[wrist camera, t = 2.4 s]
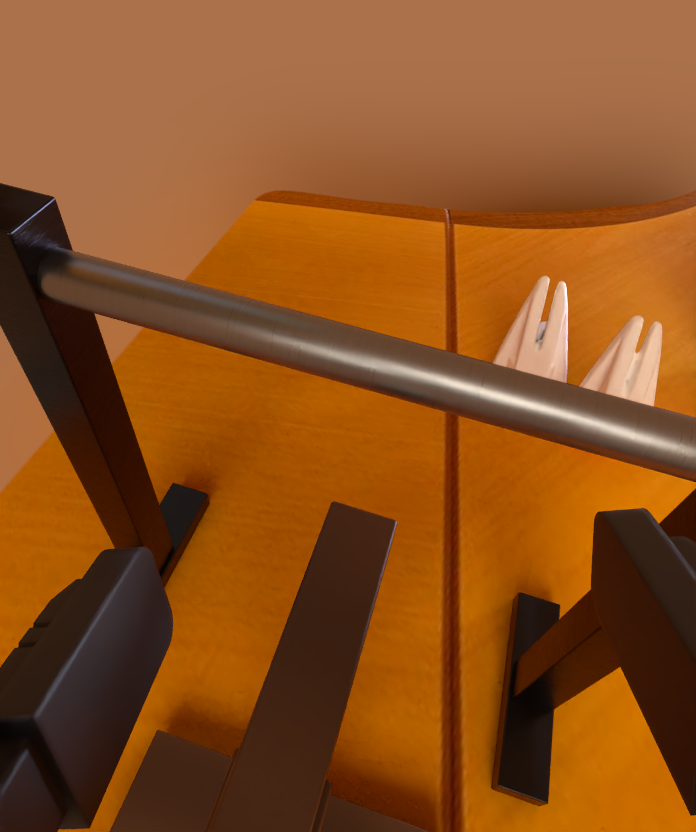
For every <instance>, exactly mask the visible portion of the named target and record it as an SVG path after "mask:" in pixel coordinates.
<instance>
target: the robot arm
mask: <svg viewBox="0 0 696 832" xmlns="http://www.w3.org/2000/svg"><path fill="white" fill-rule="evenodd" d="M591 591H592V598H593V604H594V608H595V611H596V615H597V617H598V620H599V622H600V624H601V627H602V629H603V631H604V633H605V635H606V637H607V639H608V641H609V644H610V646H611V648H612V650H613V652H614V654H615V656H616V658H617V660H618V663H619V665H620V667H621V669H622V671H623V673H624V675H625V677H626V680H627V682H628V684H629V686H630V688H631V690H632V692H633V694H634V696H635V699H636V701H637V703H638V705H639V707H640V709H641V711H642V713H643V716H644V718H645V720H646V722H647V724H648V726H649V728H650V730H651V732H652V735H653V737H654V739H655V741H656V743H657V745H658V747H659V749H660V752H661V754H662V756H663V758H664V760H665V762H666V764H667V766H668V768H669V771H670V773H671V775H672V777H673V779H674V781H675V783H676V785H677V788H678V790H679V792H680V794H681V796H682V798H683V800H684V802H685V804H686V807H687V809H688V811H689V813H690V815H696V543H695V542H693V541H692V540H690V539H689V538H687V537H686V536H675V537H668V536H667V534H666V533H665V532H664V530H663V529H662V528H661V526H660V525H659V524H658V523H657V521H656V520H655V519H654V517H653V516H652V515H651V513H650V512H649V511H648V510H646V509H644V508H641V509H628V510H615V511H603V512H598V513H597V514H596V516H595V519H594V532H593V553H592V573H591ZM33 625H34V626H33V628H29V630H28V631H27V632H26V634H25V635H24V636H23V638H22V639H21V640H20V642H19V647H18V648H14V650H13V651H12V652H11V654H10V655H9V656H8V658H7V659H6V660H5V662H4V663H3V664H2V666H1V667H0V832H57V831H58V829H83V828H90V826H91V824H92V821H93V819H94V817H95V815H96V812H97V810H98V808H99V805H100V803H101V801H102V798H103V796H104V794H105V792H106V789H107V787H108V785H109V782H110V780H111V778H112V776H113V773H114V771H115V769H116V766H117V764H118V762H119V760H120V757H121V755H122V753H123V750H124V748H125V746H126V743H127V741H128V739H129V737H130V734H131V732H132V730H133V727H134V725H135V723H136V721H137V718H138V716H139V714H140V711H141V709H142V707H143V704H144V702H145V700H146V698H147V695H148V693H149V691H150V688H151V686H152V684H153V682H154V679H155V677H156V675H157V672H158V670H159V668H160V666H161V663H162V661H163V659H164V656H165V654H166V652H167V649H168V647H169V645H170V641H171V637H172V631H173V617H172V611H171V607H170V604H169V601H168V598H167V595H166V592H165V589H164V586H163V583H162V580H161V577H160V574H159V571H158V568H157V565H156V562H155V559H154V556H153V554H152V552H151V551H150V549H149V548H147V547H133V548H120V549H108V550H104V551H103V552H101V553H100V554H99V556H98V557H97V558H96V560H95V561H94V563H93V564H92V565H91V567H90V568H89V570H88V571H87V572H86V574H85V575H84V577H83V578H82V579H76V580H75V581H74V582H73V583H71V584H70V585H69V586H68V587H66V588H65V589H64V590H63V591H61V592H60V593H59V594H58V595H56V596H55V597H54V598H53V599H52V600H50V602H49V603H48V604H47V606H46V607H45V608H44V610H43V611H42V612H41V614H40V615H39V616H38V618H37V619H36V620H35V622H34V623H33Z"/></svg>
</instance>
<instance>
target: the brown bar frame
mask: <svg viewBox="0 0 696 832" xmlns="http://www.w3.org/2000/svg"><path fill="white" fill-rule="evenodd" d="M396 526H397V521H395V520H393V519H390V518H386V517H383V516H380V515H377V514H374V513H370V512H367V511H364V510H361V509H357V508H354V507H351V506H348V505H344V504H341V503H338V502H332V503H331V505H330V508H329V510H328V513H327V516H326V518H325V521H324V524H323V526H322V529H321V532H320V534H319V537H318V540H317V542H316V545H315V548H314V550H313V553H312V556H311V558H310V561H309V564H308V566H307V569H306V572H305V574H304V577H303V580H302V582H301V585H300V588H299V590H298V593H297V596H296V598H295V601H294V604H293V606H292V609H291V612H290V614H289V617H288V620H287V622H286V625H285V628H284V630H283V633H282V636H281V638H280V641H279V644H278V646H277V649H276V652H275V654H274V657H273V660H272V662H271V665H270V668H269V670H268V673H267V676H266V678H265V681H264V684H263V686H262V689H261V692H260V694H259V697H258V700H257V702H256V705H255V708H254V710H253V713H252V716H251V718H250V721H249V724H248V726H247V729H246V732H245V734H244V737H243V740H242V742H241V745H240V748H237V749H236V750H235V752H234V755H233V757H229V756H227V755H224V754H221V753H219V752H216V751H213V750H211V749H208V748H205V747H203V746H200V745H197V744H195V743H192V742H189V741H187V740H184V739H181V738H179V737H176V736H173V735H171V734H168V733H165V732H163V731H160V730H157V732H156V734H155V736H154V738H153V740H152V742H151V745H150V747H149V749H148V751H147V753H146V755H145V757H144V760H143V762H142V764H141V766H140V768H139V770H138V772H137V775H136V777H135V779H134V781H133V783H132V785H131V787H130V790H129V792H128V794H127V796H126V798H125V800H124V802H123V805H122V807H121V809H120V811H119V813H118V815H117V817H116V820H115V822H114V824H113V826H112V828H111V830H110V832H429V831H427V830H424V829H421V828H419V827H416V826H413V825H411V824H408V823H405V822H403V821H400V820H397V819H395V818H392V817H389V816H387V815H384V814H381V813H379V812H376V811H373V810H371V809H368V808H365V807H363V806H360V805H357V804H355V803H352V802H349V801H347V800H344V799H341V798H339V797H336V796H333V795H331V794H330V793H331V790H332V783H331V782H330V781H328V780H326V777H327V774H328V770H329V766H330V763H331V759H332V756H333V752H334V748H335V745H336V741H337V738H338V734H339V730H340V727H341V723H342V720H343V716H344V713H345V709H346V705H347V702H348V698H349V695H350V691H351V687H352V684H353V680H354V677H355V673H356V670H357V666H358V662H359V659H360V655H361V652H362V648H363V644H364V641H365V637H366V634H367V630H368V627H369V623H370V619H371V616H372V612H373V609H374V605H375V601H376V598H377V594H378V591H379V587H380V583H381V580H382V576H383V573H384V569H385V566H386V562H387V558H388V555H389V551H390V548H391V544H392V540H393V537H394V533H395V530H396Z"/></svg>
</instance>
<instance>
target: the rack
mask: <svg viewBox="0 0 696 832" xmlns="http://www.w3.org/2000/svg"><path fill="white" fill-rule="evenodd" d="M94 313H96V314H99V315H103V316H106V317H110V318H113V319H117V320H121V321H124V322H128V323H131V324H135V325H138V326H142V327H145V328H149V329H153V330H156V331H160V332H163V333H167V334H170V335H174V336H177V337H181V338H185V339H188V340H192V341H195V342H199V343H202V344H206V345H209V346H213V347H217V348H220V349H224V350H227V351H231V352H234V353H238V354H241V355H245V356H249V357H252V358H256V359H259V360H263V361H266V362H270V363H274V364H277V365H281V366H284V367H288V368H291V369H295V370H298V371H302V372H306V373H309V374H313V375H316V376H320V377H323V378H327V379H330V380H334V381H338V382H341V383H345V384H348V385H352V386H355V387H359V388H362V389H366V390H370V391H373V392H377V393H380V394H384V395H387V396H391V397H394V398H398V399H402V400H405V401H409V402H412V403H416V404H419V405H423V406H426V407H430V408H434V409H437V410H441V411H444V412H448V413H451V414H455V415H458V416H462V417H466V418H469V419H473V420H476V421H480V422H483V423H487V424H491V425H494V426H498V427H501V428H505V429H508V430H512V431H515V432H519V433H523V434H526V435H530V436H533V437H537V438H540V439H544V440H547V441H551V442H555V443H558V444H562V445H565V446H569V447H572V448H576V449H579V450H583V451H587V452H590V453H594V454H597V455H601V456H604V457H608V458H611V459H615V460H619V461H622V462H626V463H629V464H633V465H636V466H640V467H643V468H647V469H651V470H654V471H658V472H661V473H665V474H668V475H672V476H676V477H679V478H683V479H686V480H690V481H693V482H696V418H695V417H691V416H688V415H684V414H680V413H676V412H673V411H669V410H665V409H661V408H658V407H654V406H650V405H647V404H643V403H639V402H635V401H632V400H628V399H624V398H620V397H617V396H613V395H609V394H605V393H602V392H598V391H594V390H590V389H587V388H583V387H579V386H576V385H572V384H568V383H564V382H561V381H557V380H553V379H549V378H546V377H542V376H538V375H534V374H531V373H527V372H523V371H519V370H516V369H512V368H508V367H505V366H501V365H497V364H493V363H490V362H486V361H482V360H478V359H475V358H471V357H467V356H463V355H460V354H456V353H452V352H448V351H445V350H441V349H437V348H434V347H430V346H426V345H422V344H419V343H415V342H411V341H407V340H404V339H400V338H396V337H392V336H389V335H385V334H381V333H377V332H374V331H370V330H366V329H363V328H359V327H355V326H351V325H348V324H344V323H340V322H336V321H333V320H329V319H325V318H321V317H318V316H314V315H310V314H306V313H303V312H299V311H295V310H292V309H288V308H284V307H280V306H277V305H273V304H269V303H265V302H262V301H258V300H254V299H250V298H247V297H243V296H239V295H235V294H232V293H228V292H224V291H221V290H217V289H213V288H209V287H206V286H202V285H198V284H194V283H191V282H187V281H183V280H179V279H175V278H172V277H168V276H164V275H161V274H157V273H153V272H150V271H146V270H141V269H138V268H135V267H131V266H127V265H123V264H119V263H116V262H112V261H108V260H105V259H101V258H97V257H93V256H90V255H86V254H82V253H78V252H75V251H73V250H72V247H71V244H70V241H69V238H68V235H67V232H66V229H65V226H64V223H63V220H62V217H61V214H60V211H59V209H58V205H57V203H56V200H55V198H54V197H52V196H49V195H44V194H40V193H37V192H33V191H29V190H25V189H21V188H17V187H13V186H9V185H5V184H1V183H0V326H1V327H2V329H3V331H4V333H5V335H6V337H7V339H8V341H9V343H10V345H11V347H12V349H13V351H14V353H15V355H16V356H17V359H18V360H19V362H20V364H21V366H22V368H23V370H24V372H25V374H26V376H27V378H28V380H29V382H30V384H31V385H32V388H33V390H34V392H35V394H36V395H37V397H38V399H39V401H40V403H41V405H42V407H43V409H44V411H45V413H46V415H47V417H48V419H49V421H50V423H51V425H52V427H53V428H54V430H55V432H56V434H57V436H58V438H59V440H60V442H61V444H62V446H63V448H64V450H65V452H66V454H67V456H68V458H69V460H70V461H71V463H72V465H73V467H74V469H75V471H76V473H77V475H78V477H79V479H80V481H81V483H82V485H83V487H84V489H85V491H86V493H87V494H88V496H89V498H90V500H91V502H92V504H93V506H94V508H95V510H96V512H97V514H98V516H99V518H100V520H101V522H102V524H103V526H104V527H105V529H106V531H107V533H108V535H109V537H110V539H111V541H112V543H113V545H114V547H115V549H120V548H133V547H147V548H149V549H150V551H151V552H152V554H153V556H154V559H155V562H156V565H157V568H158V571H159V574H160V577H161V580H162V583H163V586H164V587H165V585H166V583H167V581H168V580H169V578H170V576H171V574H172V572H173V570H174V568H175V567H176V565H177V563H178V561H179V559H180V557H181V555H182V554H183V552H184V550H185V548H186V546H187V544H188V542H189V541H190V539H191V537H192V535H193V533H194V531H195V529H196V527H197V526H198V524H199V522H200V520H201V518H202V516H203V514H204V513H205V511H206V509H207V507H208V505H209V498H208V494H207V493H204V492H201V491H197V490H194V489H191V488H188V487H185V486H182V485H178V484H175V483H173V484H172V485H171V487H170V489H169V490H168V492H167V494H166V495H165V497H164V499H163V500H162V502H161V504H160V505H159V503H158V500H157V497H156V494H155V491H154V488H153V485H152V482H151V479H150V477H149V474H148V471H147V468H146V465H145V462H144V459H143V456H142V453H141V450H140V447H139V444H138V441H137V438H136V435H135V432H134V429H133V426H132V423H131V421H130V418H129V415H128V412H127V409H126V406H125V403H124V400H123V397H122V394H121V391H120V388H119V385H118V382H117V379H116V376H115V373H114V370H113V367H112V365H111V362H110V359H109V356H108V353H107V350H106V347H105V344H104V341H103V338H102V335H101V332H100V329H99V326H98V324H97V320H96V317H95V314H94ZM659 525H660V526H661V528H662V529H663V530H664V532H665V533H666V534H667V536H668V537H675V536H686V537H687V538H689V539H690V540H692V541H693V542H695V543H696V489H695V490H694V491H693V492H692V493H691V494H690V495H688V496H687V497H686V498H685V499H684V500H683V501H682V502H681V503H680V504H679V505H678V506H677V507H676V508H675V509H674V510H673V511H672V512H671V513H670V514H669V515H668V516H667V517H666V518H665V519H664V520H662V521H661V522H660V523H659ZM559 616H560V605H559V604H556V603H553V602H550V601H546V600H543V599H540V598H537V597H534V596H531V595H527V594H524V593H521V592H519V593H518V595H517V596H516V597H515V598H514V600H513V607H512V616H511V624H510V633H509V641H508V650H507V658H506V667H505V676H504V684H503V693H502V701H501V710H500V718H499V727H498V736H497V744H496V753H495V761H494V770H493V778H492V789H493V790H496V791H498V792H501V793H504V794H507V795H509V796H512V797H515V798H518V799H521V800H523V801H526V802H529V803H532V804H534V805H537V806H541V805H545V804H548V797H549V780H550V764H551V747H552V731H553V714H554V709H555V708H557V707H558V706H560V705H562V704H563V703H565V702H566V701H568V700H569V699H571V698H572V697H574V696H576V695H577V694H579V693H580V692H582V691H583V690H585V689H586V688H588V687H590V686H591V685H593V684H594V683H596V682H597V681H599V680H600V679H602V678H603V677H605V676H607V675H608V674H610V673H611V672H613V671H614V670H616V669H617V668H619V667H620V665H619V663H618V660H617V658H616V656H615V654H614V652H613V650H612V648H611V646H610V644H609V641H608V639H607V637H606V635H605V633H604V631H603V629H602V627H601V624H600V622H599V620H598V617H597V615H596V611H595V608H594V604H593V598H592V591H591V590H590V591H589V592H588V593H587V594H586V595H584V596H583V597H582V598H581V599H580V600H579V601H578V602H577V603H576V604H575V605H574V606H573V607H572V608H571V609H570V610H569V611H568V612H567V613H566V614H565V615H564V616H563V617H562V618H561V619H560V620H559Z"/></svg>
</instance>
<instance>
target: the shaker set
mask: <svg viewBox="0 0 696 832" xmlns="http://www.w3.org/2000/svg"><path fill="white" fill-rule="evenodd" d="M548 286H549V277H548V276H542V277H540V279H539V280H538V281H537V283H536V284H535V286H534V287H533V289H532V291H531V292H530V294H529V295H528V297H527V299H526V300H525V302H524V304H523V305H522V307H521V309H520V311H519V313H518V315H517V316H516V318H515V320H514V322H513V324H512V326H511V327H510V329H509V331H508V333H507V335H506V337H505V339H504V341H503V342H502V344H501V346H500V348H499V350H498V352H497V354H496V356H495V358H494V360H493V362H492V363H493V364H497V365H501V366H505V367H508V368H512V369H516V370H519V371H523V372H527V373H531V374H534V375H538V376H542V377H546V378H549V379H553V380H557V381H561V382H564V383H566V382H567V379H566V378H567V376H568V374H567V367H568V365H567V351H568V302H567V289H566V284H565V283H564V282H563V281H560V282H559V283H558V285H557V287H556V290H555V294H554V296H553V297H554V298H553V302H552V306H551V308H550V311H549V317H548V320H547V321H544V322H540V320H541V316H542V312H543V308H544V304H545V299H546V296H547V291H548ZM643 322H644V319H643V318H642V316H640V315H636V316H633V317H632V318H631V319H630V320H629V321H628V322H627V323H626V324H625V325H624V326H623V328H622V329H621V330H620V332H619V333H618V334H617V335H616V336H615V338H614V339H613V340H612V342H611V343H610V344H609V345H608V347H607V348H606V350H605V351H604V352H603V354H602V355H601V356H600V358H599V359H598V360H597V362H596V363H595V365H594V366H593V367H592V369H591V370H590V371H589V373H588V374H587V375H586V377H585V378H584V380H583V381H582V382H581V384H580V385H579V387H583V388H587V389H590V390H594V391H598V392H602V393H605V394H609V395H613V396H617V397H620V398H624V399H628V400H632V401H635V402H639V403H643V404H647V405H650V406H654V400H655V393H656V385H657V378H658V371H659V363H660V357H661V348H662V325H661V323H660V322H658V321H655V322H654V323H653V324H652V325H651V327H650V329H649V331H648V334H647V336H646V338H645V340H644V342H643V345H642V347H641V350H640V351H639V352H638V353H635V349H636V346H637V343H638V339H639V336H640V333H641V330H642V326H643Z"/></svg>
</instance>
